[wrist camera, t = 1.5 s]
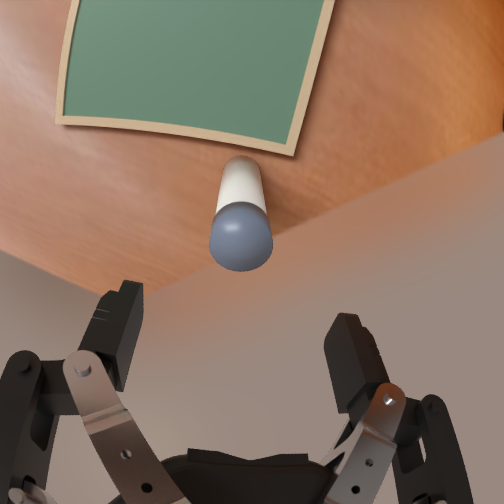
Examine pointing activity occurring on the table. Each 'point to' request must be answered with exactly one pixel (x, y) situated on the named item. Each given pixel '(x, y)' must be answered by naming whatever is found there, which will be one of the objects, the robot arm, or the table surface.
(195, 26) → the slate
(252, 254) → the marker
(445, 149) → the table surface
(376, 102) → the table surface
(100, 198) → the table surface
